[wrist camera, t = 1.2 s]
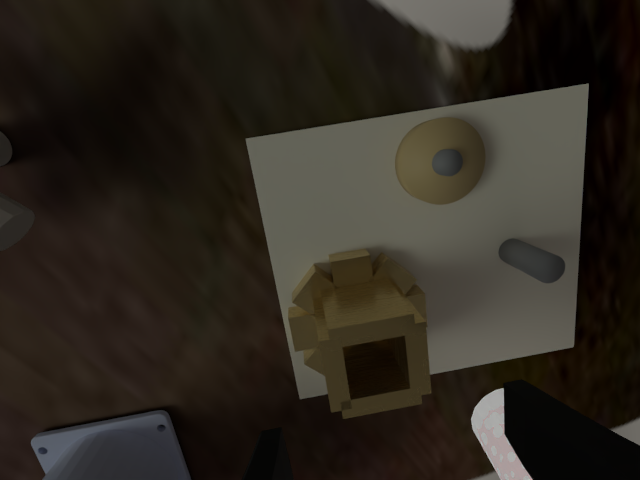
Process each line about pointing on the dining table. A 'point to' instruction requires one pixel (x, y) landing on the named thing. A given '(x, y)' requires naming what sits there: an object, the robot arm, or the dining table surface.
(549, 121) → the plate
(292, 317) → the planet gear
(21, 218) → the pipe connector
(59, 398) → the dining table surface
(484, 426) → the beverage cup
